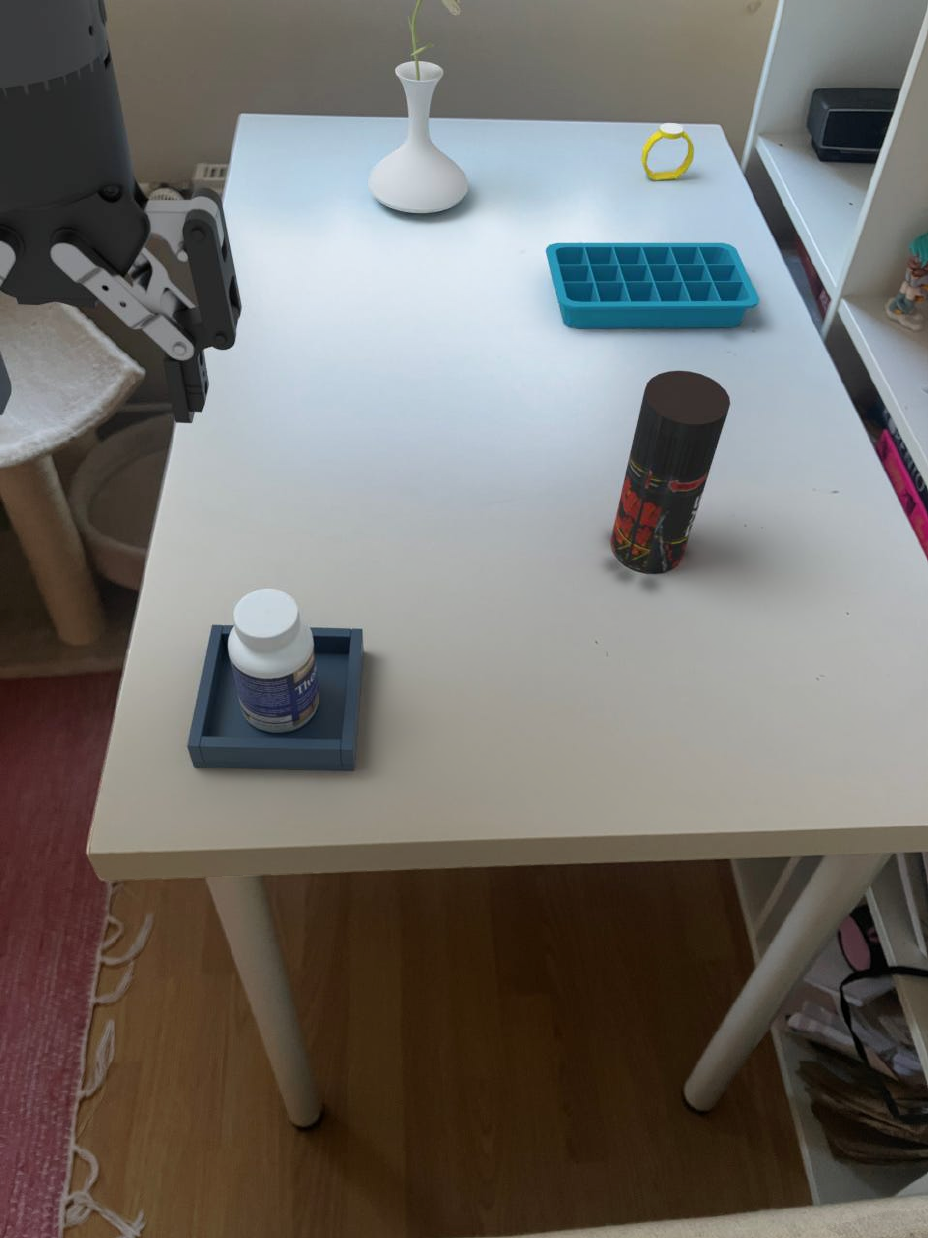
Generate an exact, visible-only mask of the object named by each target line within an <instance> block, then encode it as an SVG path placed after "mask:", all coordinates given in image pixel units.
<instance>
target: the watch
mask: <svg viewBox="0 0 928 1238" xmlns="http://www.w3.org/2000/svg"><path fill="white" fill-rule="evenodd" d="M684 129H685V128H684V127H683V126H682V125H681V124H678V123H674V122H666V123H662V124H661V125H660V126H659V129H658V131H656V132H654V133H653V134H652V135H650V136H649V138H648V139H647V141H646V142H645V144H644V145H643V148H642V151H641V157H640V161H641V164H642V167H643V170H644V172H645V174H646V175H647V176H648V177H649V178H651V179H652V180H653V181H654V182H655V181H662V180H663V181H664V180H678V179H679V178H680V177H682V176H683V175H684V174H685V173H686V172H687V171H688V170H689V169H690V166H691V165H692V163H693V160H694V155H695V147H694V144H693V142H692V140H691V138H690V136H689V134H688V133H687V132H686V131H685V130H684ZM680 138H682V139H684V140H685V141H686V142H687V154H686V156H685V158H684V160H683V162H682V164H680V165H679V166H678V167H677V168H675V170H672V171H661V172H654V171H652V170H651V169H649V166H648V158H649V153H650V151H651V150H652V148H653V147H654V145H656V143H657V142H660V141H661V140H662V139H667V140H677V139H680Z"/></svg>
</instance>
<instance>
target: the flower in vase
mask: <svg viewBox="0 0 928 1238" xmlns="http://www.w3.org/2000/svg"><path fill="white" fill-rule="evenodd" d="M440 1H441V2H442V4H443V5H444V7H445V8H446V9H447V10H448V11H449V13H450V14H452V15H453V16H455V17H457V16H458V15H461V12H462V10H461V8H460V6H459V5H458V3H461V1H460V0H440ZM422 3H423V0H417V3H416V5H415V9H414V11H413V14H412V19H411V17H409V16H408V17H407V22H408V26H409V30H410V32H411V41H412V50H413V52H412V53H410V57H412V56H413V57H414V60H413V61H411V60H410V61H406V62H403V63H401V64H399V65H397V66H396V67H395V71H394V72H395V75H396V76H397V78H398V79H399V80H400V82H401V84H402V87H403V89H404V92H405V98H406V104H407V112H408V114H407V115H408V116H407V117H408V128H407V135H406V138H405V141H403V143H402V144H401V145H400V146H398V147H397V148H396V149H394V150H393V151H391V152H390V153H389V154H387V155H386V156H385V157H383V158H382V159H380V161H378V162H377V164H375V166H374V167H373V168H372V169H371V171H370V174H369V176H368V180H367V187H368V190H369V192H370V193H371V194H372V196H373V197H374V198H375V199H376V200H377V201H378V202H379V203H380V204H382V205H383V206H385V207H387V208H391V209H392V210H396V211H400V212H405V213H411V214H412V213H413V214H428V213H429V214H430V213H438V212H440V211H441V212H442V211H445V210H448V209H450V208H452V207H454V206H456V205H458V204H459V203H460V202H461V201H462V200H463V199H464V197H465V196H466V194H467V193H468V191H469V181H468V179H467V176H466V174H465V172H464V170H463V169H462V168H461V167H460V165H458V164H457V163H456V162H455V161H454V160H453V159H452V158H451V157H450V156H449V155H447V154H446V153H445V152H443V151H441V150H440V149H439V148H438V147H437V146H436V145H435V144H434V143H433V141H432V139H431V134H430V111H431V105H432V104H431V103H432V99H433V95H434V92H435V89H436V86H437V85H438V82H439V81H440V80H441V78H442V77H443V76H444V70H443V68H442V67H440V66H439V65H438V64H435V63H433V62H428V61H422V60H419V56H418V54H420V53H422V52H424V51H425V50H427V49H429V48H433V47H434V46H435V45H434V44H433V43H432V42H430V41H429V42H428V43H427V44H426V45H425V46H423V47H421V48H418V49H417V44H420V40H419V37H418V36H419V35H418V34H417V32H416V21H417V16H418V13H419V10H420V7H421V4H422Z"/></svg>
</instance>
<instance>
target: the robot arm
mask: <svg viewBox="0 0 928 1238" xmlns="http://www.w3.org/2000/svg"><path fill="white" fill-rule="evenodd" d="M107 23H108V15H107V9H106V3H105V0H0V292H1V293H3V294H5V295H7V296H10V297H11V298H15V299H16V301H17V305H23V306H24V305H25V306H40V305H41V306H42V305H46V304H51V303H58V304H62V305H63V304H64V305H68V306H71V307H75V308H89V309H92V308H93V309H96V308H97V306H98V303H100V302H101V303H102V304H103V305H104V306H105V307H106V308H107V309H108V310H110V312H112V313H113V314H114V315H115V316H116V317H118V319H120V321H122V322H123V323H124V324H125V325H126V326H127V327H129V329H132V330H138V329H139V330H141V331H143V332H144V333H145V334H146V335H147V336H148V337H149V338H150V339H151V340H152V341H153V342H154V343H155V344H157V345H158V346H159V347H160V348H161V349H162V350H163V351H164V352H165V353H164V356H163V360H162V362H163V367H164V368H163V369H164V374H165V377H166V382H167V383H166V384H167V389H168V392H169V398H170V403H171V408H172V413H173V418H174V422H175V424H192V423H194V419H195V414H196V413H203V410H204V408H205V404H206V401H207V397H208V396H207V395H208V391H209V387H210V383H209V376H208V370H207V363H206V355H205V350H207V349H209V348H213V349H216V350H218V351H228V350H230V349H232V348H233V347H234V346H235V343H236V338H237V328H238V323H239V319H240V317H241V313H242V309H243V308H242V307H243V306H242V305H243V304H242V300H241V295H240V289H239V284H238V279H237V275H236V274H237V273H236V269H235V264H234V258H233V252H232V248H231V247H232V246H231V242H230V237H229V231H228V226H227V220H226V216H225V210H224V205H223V200H222V198H221V196H220V194H219V193H218V192H216V190H214V189H212V188H210V187H204V186H203V187H199V188H197V189H195V190H194V191H193V193H192V195H191V197H190V199H150V198H149V196H148V195H147V193H146V192H145V190H144V189H143V188H142V187H141V185H140V183H139V182H138V180H137V178H136V175H135V172H134V167H133V161H132V156H131V150H130V145H129V144H130V143H129V140H128V135H127V130H126V124H125V118H124V114H123V108H122V102H121V98H120V93H119V87H118V82H117V76H116V73H115V67H114V62H113V61H114V60H113V56H112V51H111V47H110V46H111V45H110V40H109V36H108V31H107ZM151 235H156V236H159V237H160V238H163V240H165V241H166V242H167V243H168V245H169V248H170V249H171V251H172V253H173V254H174V255H175V256H176V259H177V260H178V261H179V262H181V263H186V262H188V264H189V269H190V273H191V279H192V281H193V286H194V291H195V295H196V300H197V306H196V305H195V304H194V303H193V302H192V301H191V300H190V299H189V298H188V297H187V296H186V295H185V294H184V293H183V292H182V291H181V290H180V289H179V288H178V287H177V286H176V285H175V284H174V283H173V282H172V280H171V279H170V275H169V272H168V270H167V268H166V267H165V266H164V265H163V264H162V262H160V261H159V259H157V258H156V256H154V255H153V254H152V253H151V252H150V251H149V249H147V248H146V247H145V246H146V245H147V243H148V241H149V239H150V236H151ZM127 274H128V276H129V277H130V279H131V281H132V285H131V284H130V283H129V282H128V281H127V280H126V279H125V278H126V276H127ZM12 388H13V387H12V382H11V378H10V375H9V372H8V370H7V367H6V363H5V360H4V358H3V355H2V352H1V351H0V416H2V415H4V412H5V411H6V408H7V405H8V403H9V401H10V398H11V396H12Z"/></svg>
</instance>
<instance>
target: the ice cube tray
mask: <svg viewBox="0 0 928 1238" xmlns="http://www.w3.org/2000/svg"><path fill="white" fill-rule="evenodd" d="M545 254H546V258H547V262H548V267H549V272H550V275H551V279H552V284H553V287H554V292H555V297H556V301H557V303H558V307H559V310H560V314H561V319H562V323H563V325H565V326H567V327H569V328H574V329H652V328H653V329H656V328H657V329H666V328H673V329H674V328H678V329H679V328H681V329H682V328H684V329H685V328H734V327H738V326H740V325H741V324H742V322H743V319H744V317H745V315H746V313H747V310H748V309H753V308H755V307H757V306H758V303H759V302H760V297H759V295H758V292H757V291H756V288H755V286H754V284H753V282H752V280H751V277H750V276H749V272H748V271H747V269H746V266H745V264H744V262H743V260H742V258H741V256H740V254H739V252H738V249H737V248H736V247H735V246H733V245H731V244H729V243H727V242H555V243H551V244H549V245H548V246H547V247H546V248H545Z"/></svg>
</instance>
